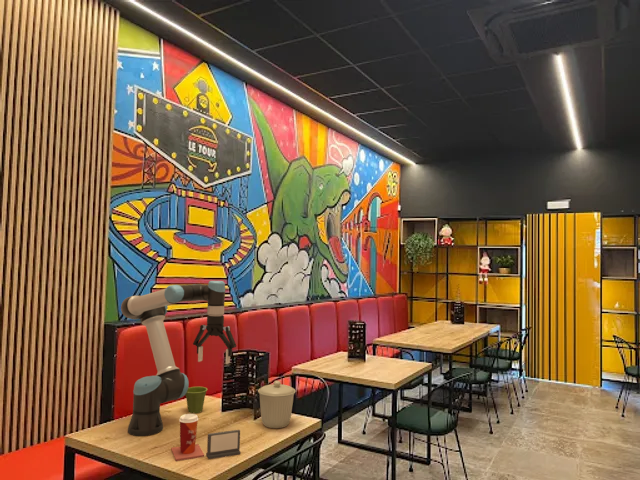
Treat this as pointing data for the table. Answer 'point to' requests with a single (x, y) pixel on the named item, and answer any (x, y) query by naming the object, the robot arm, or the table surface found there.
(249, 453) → the table surface
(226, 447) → the menu holder
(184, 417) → the paper cup
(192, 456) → the coaster
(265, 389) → the canister
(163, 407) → the table surface
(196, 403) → the plant pot
